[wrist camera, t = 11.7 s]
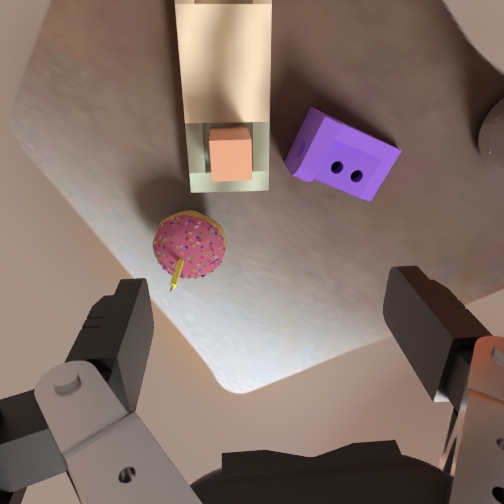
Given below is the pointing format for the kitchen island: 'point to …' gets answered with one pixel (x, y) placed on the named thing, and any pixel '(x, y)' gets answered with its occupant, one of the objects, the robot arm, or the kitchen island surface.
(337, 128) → the bracket
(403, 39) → the kitchen island surface
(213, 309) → the kitchen island surface
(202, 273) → the cupcake
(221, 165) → the salmon orange rectangular block
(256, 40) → the rail
